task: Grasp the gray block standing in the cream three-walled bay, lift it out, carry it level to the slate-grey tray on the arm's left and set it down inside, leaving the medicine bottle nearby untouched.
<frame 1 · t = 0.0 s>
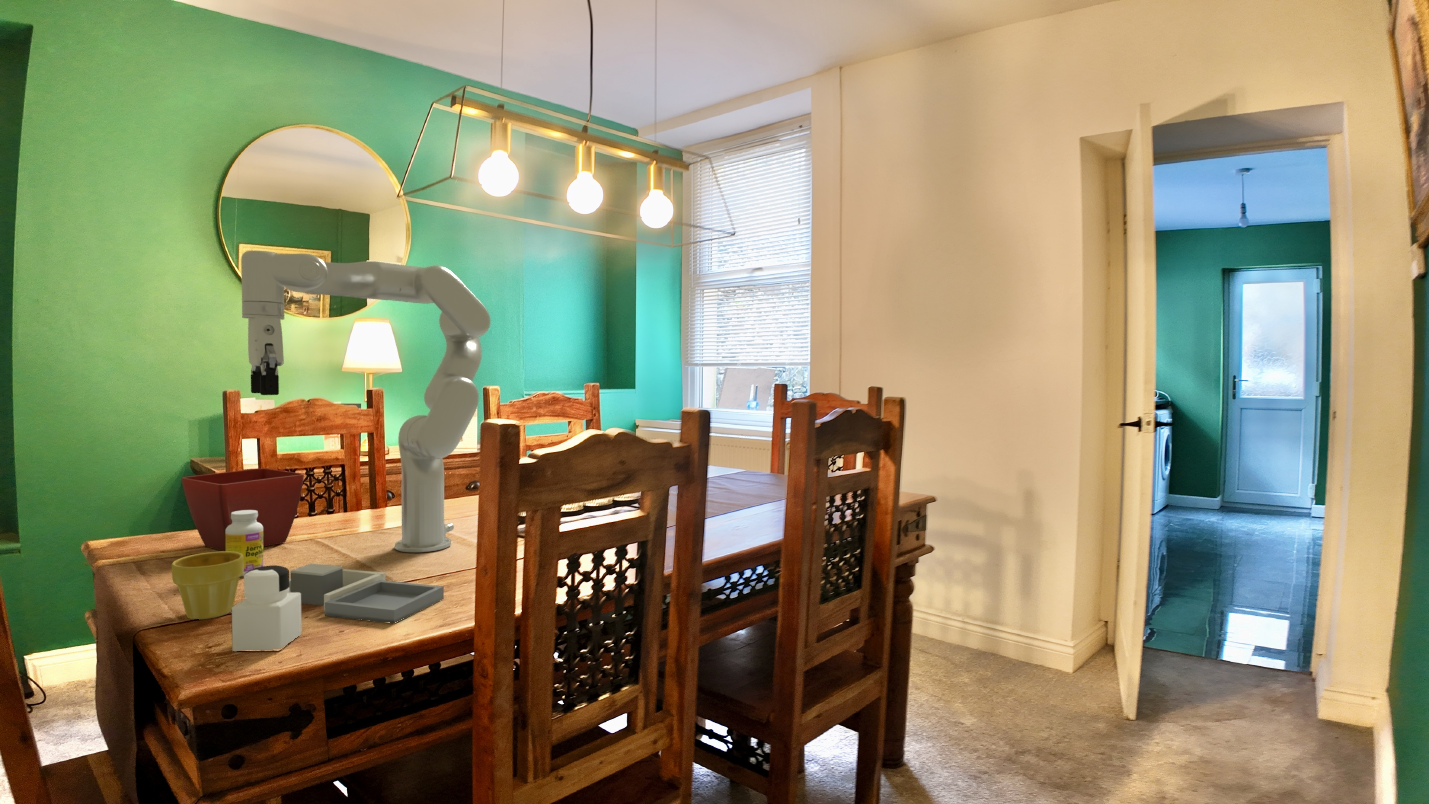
hand: (264, 394, 154), 37 cm above the table, tool pointing down, fingers open, 9 cm apart
bay: (325, 596, 140), on the table
supplement bottle: (245, 574, 154), on the table
plant pot 2: (245, 545, 177), on the table
plant pot: (209, 614, 129), on the table
tray: (386, 607, 134), on the table
gray block: (317, 600, 138), on the table
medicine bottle: (267, 645, 116), on the table
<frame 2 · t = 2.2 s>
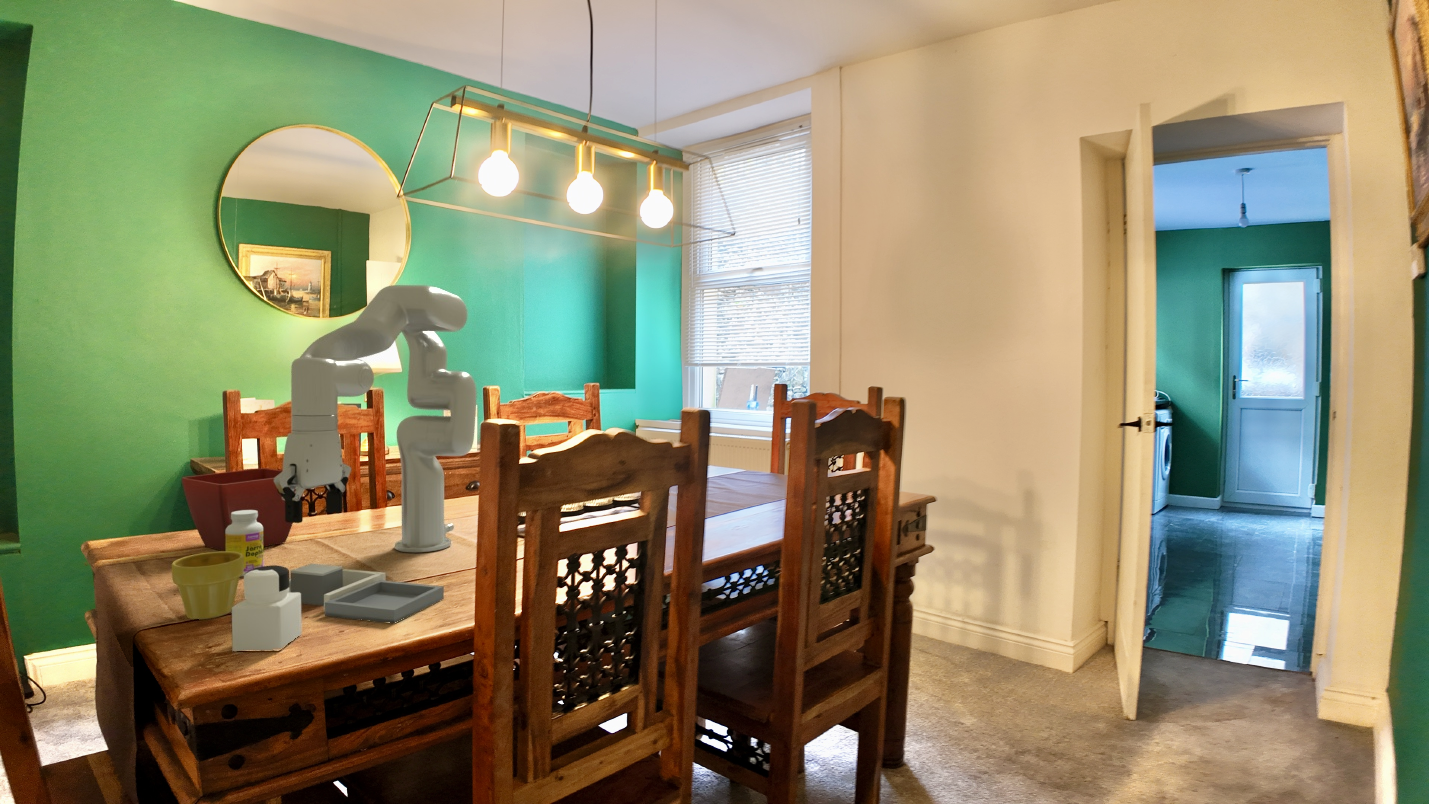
hand: (314, 517, 136), 16 cm above the table, tool pointing down, fingers open, 9 cm apart
nothing on the table moved.
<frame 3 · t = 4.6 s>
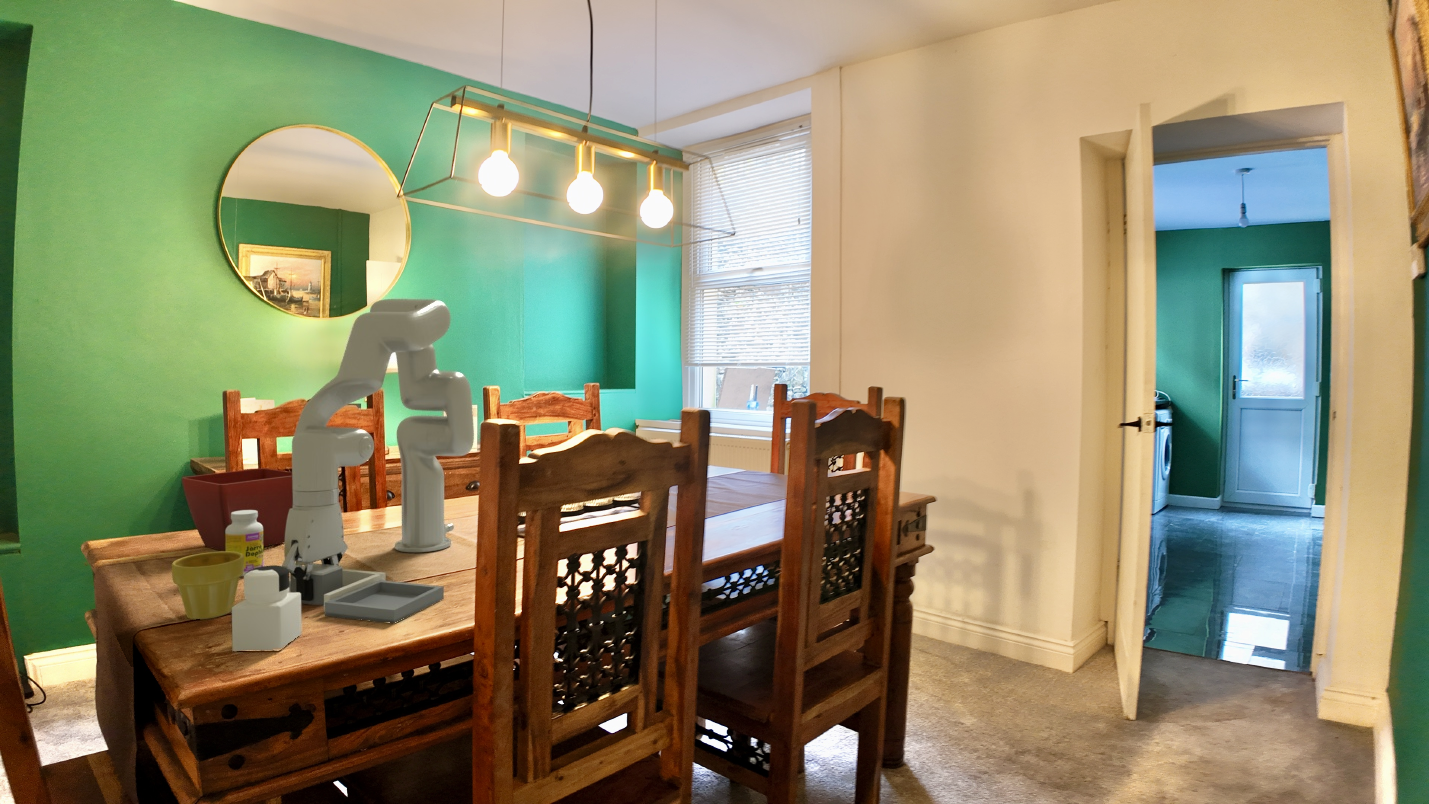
hand: (316, 594, 138), 1 cm above the table, tool pointing down, fingers closed on gray block, 5 cm apart
gray block: (317, 599, 138), on the table, touching gripper
everything else where it was.
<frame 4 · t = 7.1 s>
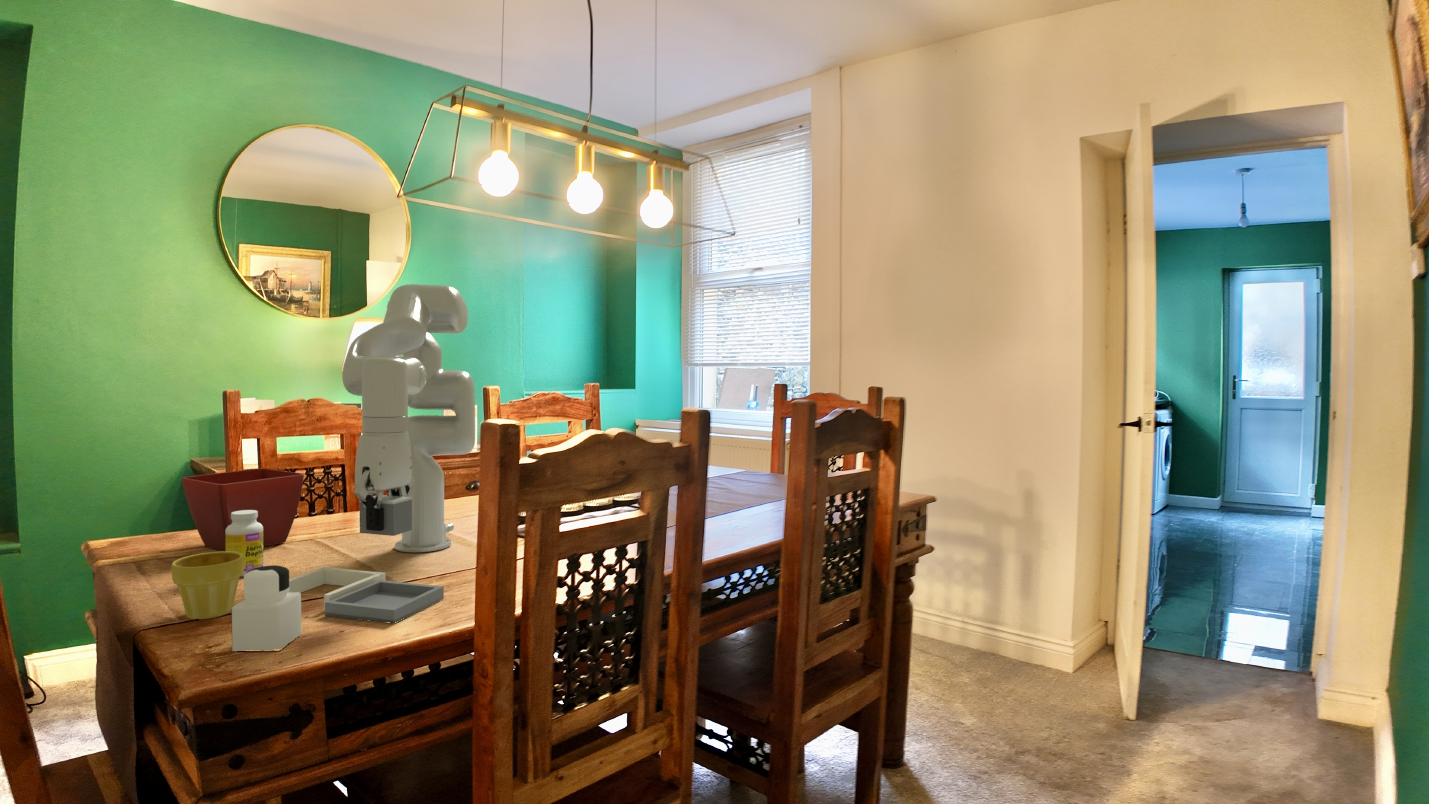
hand: (386, 525, 133), 15 cm above the table, tool pointing down, fingers closed on gray block, 5 cm apart
gray block: (386, 531, 133), point 14 cm above the table, touching gripper
everything else where it was.
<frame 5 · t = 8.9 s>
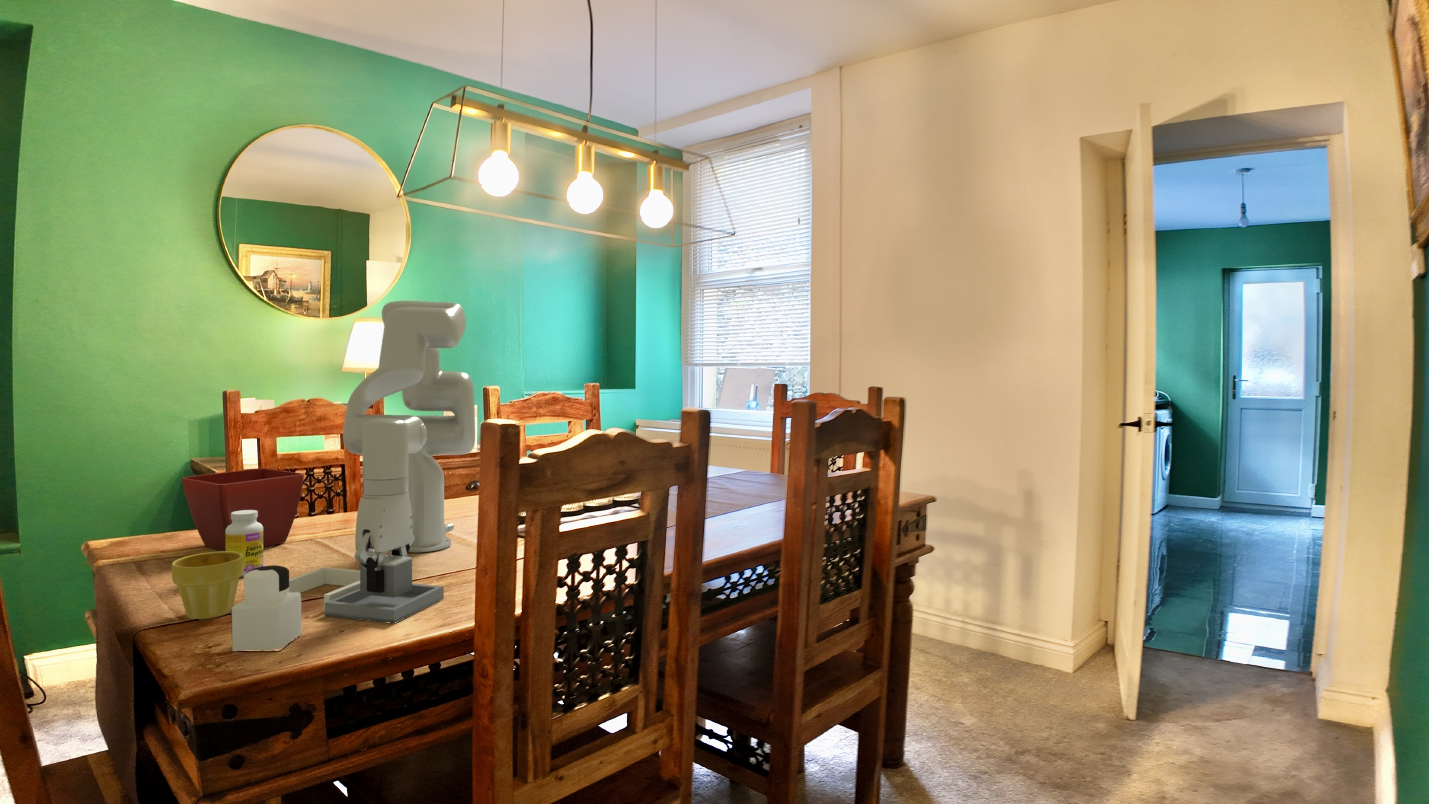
hand: (386, 586, 134), 4 cm above the table, tool pointing down, fingers closed on gray block, 5 cm apart
gray block: (386, 591, 134), point 3 cm above the table, touching gripper
everything else where it was.
when the fingers open (2 cm above the table, at t = 10.1 s): gray block stays where it is, resting on tray.
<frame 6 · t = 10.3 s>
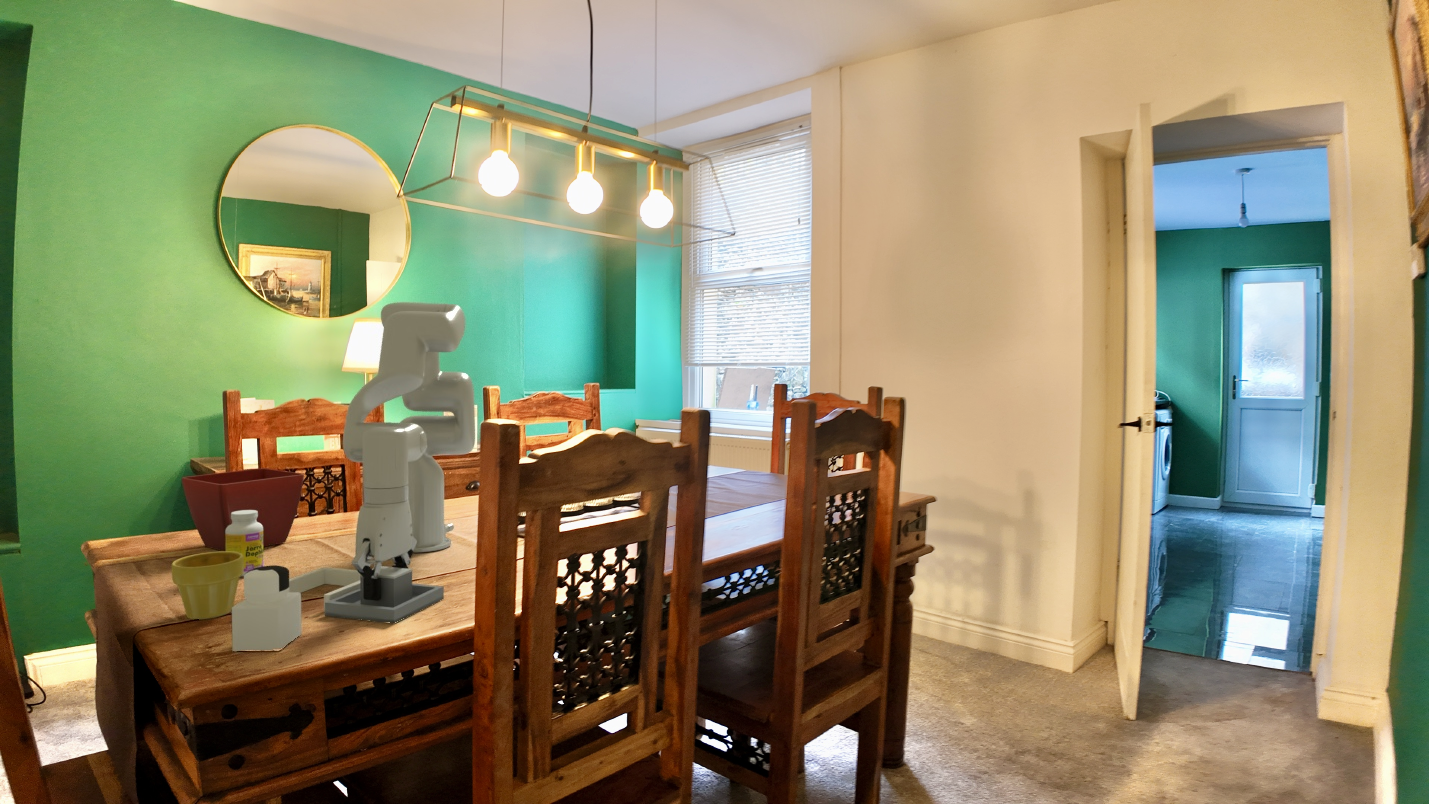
hand: (386, 592, 134), 3 cm above the table, tool pointing down, fingers open, 6 cm apart
gray block: (386, 603, 134), point 1 cm above the table, touching tray
everything else where it was.
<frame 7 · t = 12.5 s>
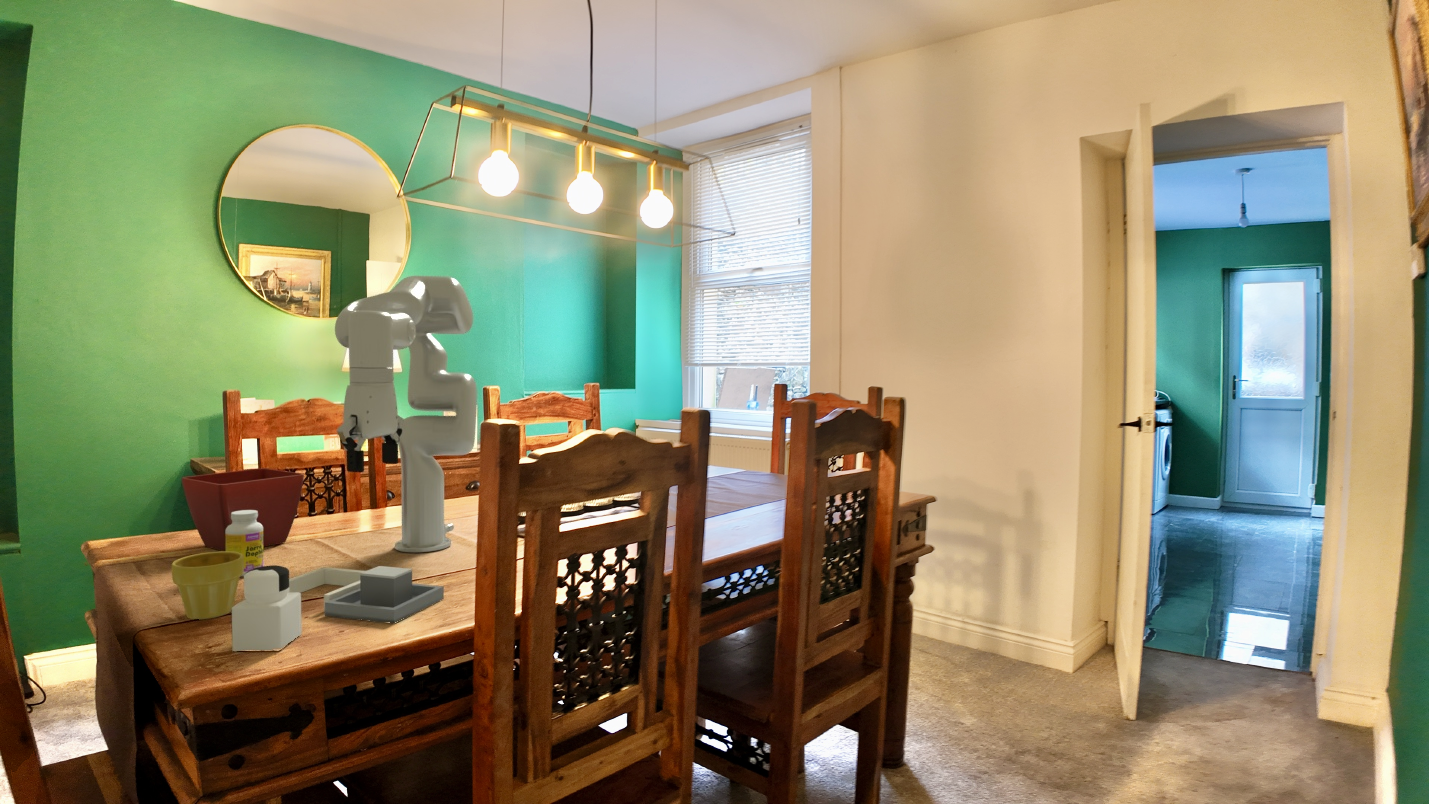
hand: (373, 467, 140), 24 cm above the table, tool pointing down, fingers open, 9 cm apart
nothing on the table moved.
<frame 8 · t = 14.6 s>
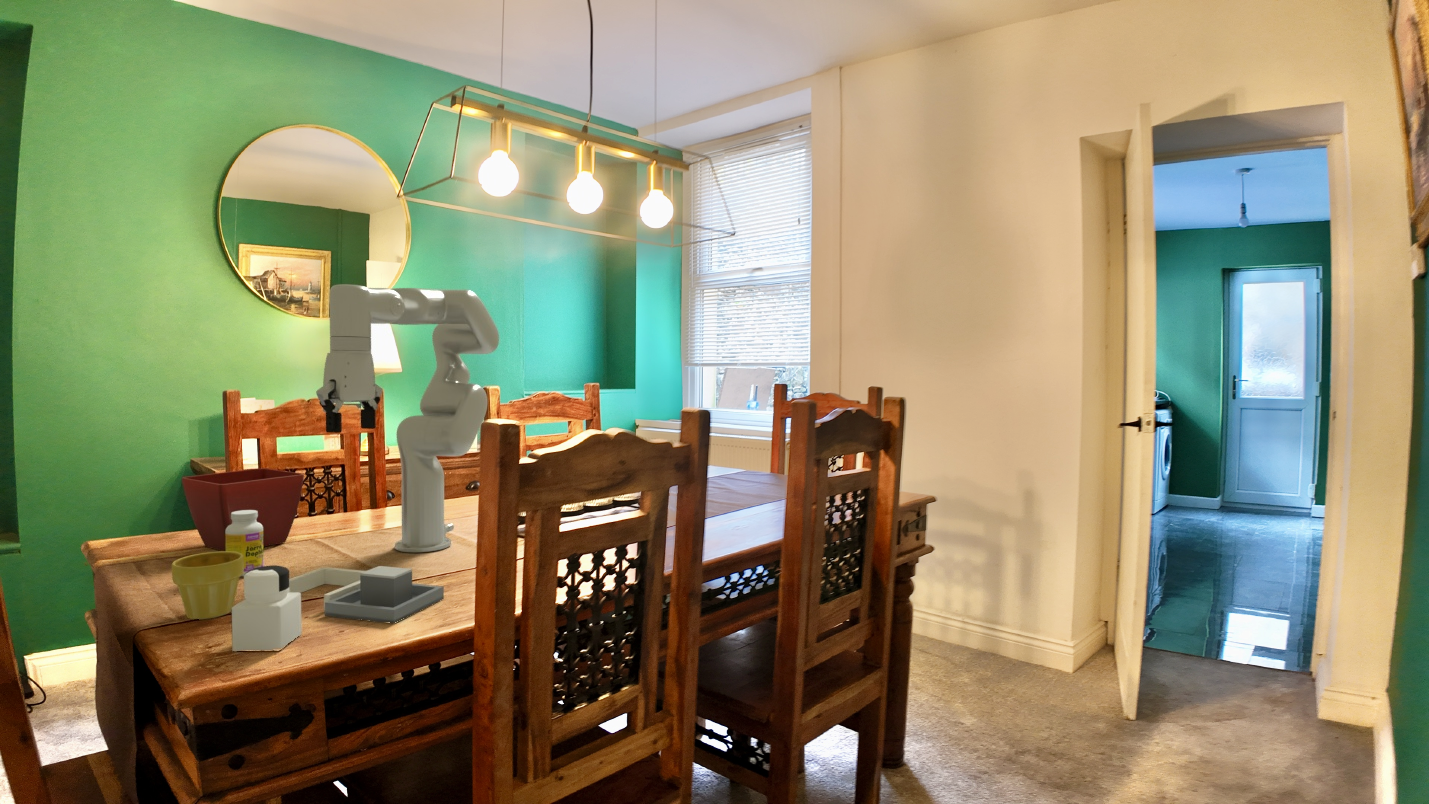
hand: (351, 430, 151), 30 cm above the table, tool pointing down, fingers open, 9 cm apart
nothing on the table moved.
at the end: gray block inside the target area on the tray (0.1 cm from its centre), point 0.6 cm above the tray's base; gray block tilted 0°; the gripper is holding nothing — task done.
